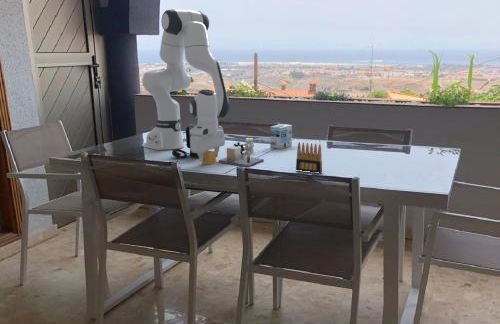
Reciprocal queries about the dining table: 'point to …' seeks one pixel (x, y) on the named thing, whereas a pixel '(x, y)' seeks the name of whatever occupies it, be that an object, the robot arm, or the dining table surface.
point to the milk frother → (188, 136)
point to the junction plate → (239, 158)
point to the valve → (246, 146)
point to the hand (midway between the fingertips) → (208, 159)
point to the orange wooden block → (209, 157)
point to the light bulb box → (281, 136)
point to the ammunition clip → (309, 158)
